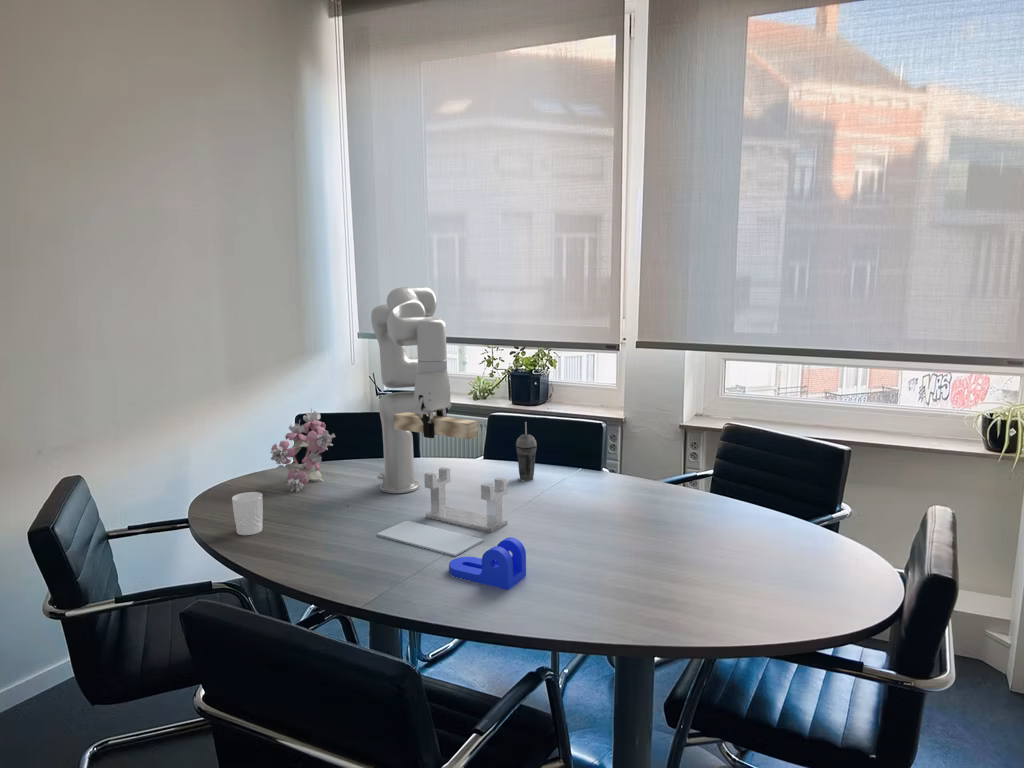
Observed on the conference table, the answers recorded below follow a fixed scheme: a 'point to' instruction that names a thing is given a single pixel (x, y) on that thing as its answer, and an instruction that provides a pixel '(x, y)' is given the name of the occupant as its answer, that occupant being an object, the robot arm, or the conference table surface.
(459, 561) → the bracket
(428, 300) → the robot arm
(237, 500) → the white cup
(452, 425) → the rail
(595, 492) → the conference table surface
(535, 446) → the beverage cup
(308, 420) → the flower
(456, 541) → the mat
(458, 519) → the rail stand
